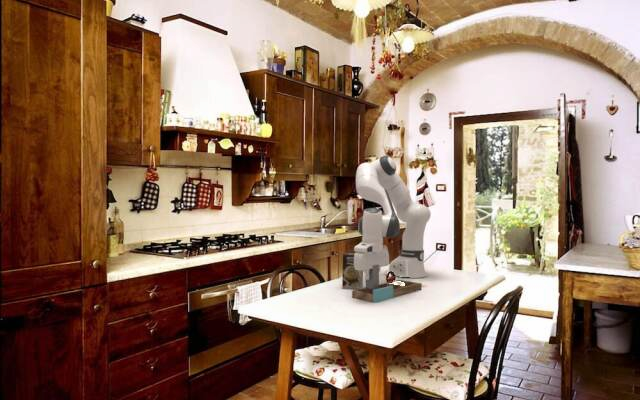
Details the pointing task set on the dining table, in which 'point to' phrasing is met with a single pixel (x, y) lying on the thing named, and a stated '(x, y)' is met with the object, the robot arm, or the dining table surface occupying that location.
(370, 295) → the rack
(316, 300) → the dining table surface
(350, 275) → the coffee box
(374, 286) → the tall grey block
